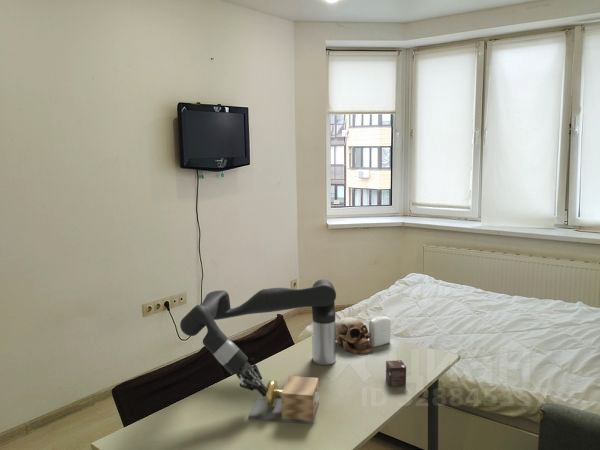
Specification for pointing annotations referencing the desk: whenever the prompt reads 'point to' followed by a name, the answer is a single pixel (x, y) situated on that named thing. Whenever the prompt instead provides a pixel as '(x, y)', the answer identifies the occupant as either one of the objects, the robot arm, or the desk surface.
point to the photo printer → (379, 331)
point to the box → (396, 373)
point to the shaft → (277, 393)
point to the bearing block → (291, 402)
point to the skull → (353, 335)
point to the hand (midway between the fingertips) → (267, 394)
